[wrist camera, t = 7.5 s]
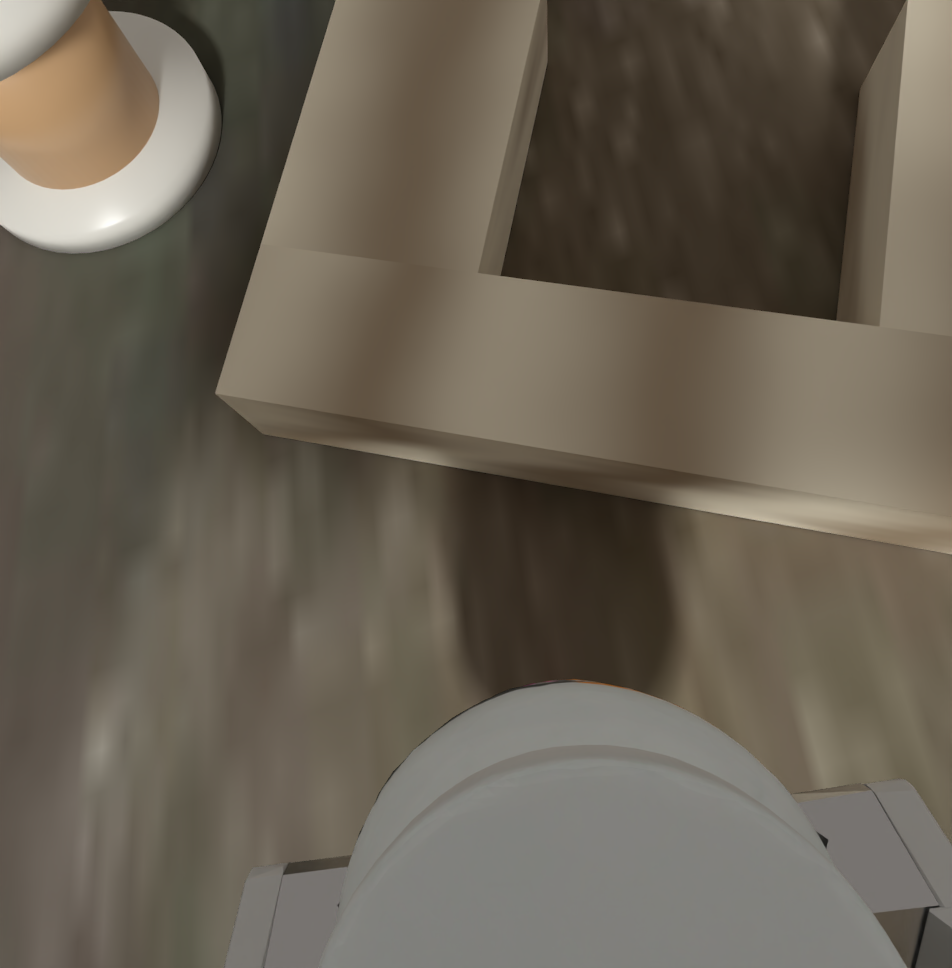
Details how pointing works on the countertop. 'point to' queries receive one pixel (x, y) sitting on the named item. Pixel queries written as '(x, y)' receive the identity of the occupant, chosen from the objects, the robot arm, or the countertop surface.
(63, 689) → the countertop surface
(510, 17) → the notched board
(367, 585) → the countertop surface
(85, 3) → the spool
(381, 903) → the pill bottle
